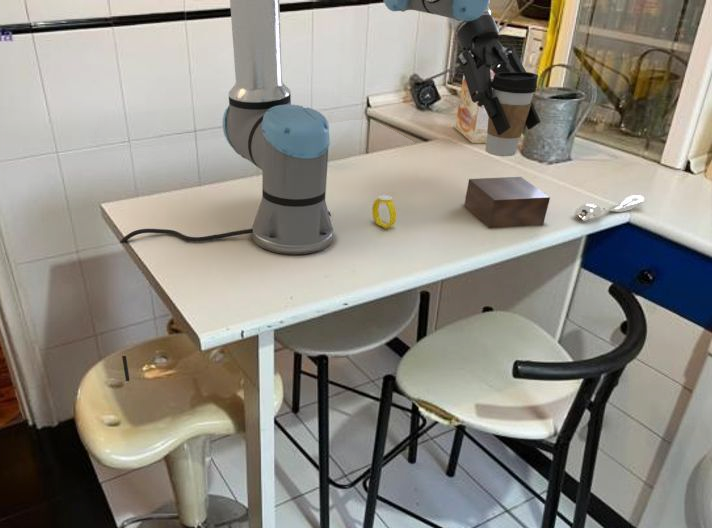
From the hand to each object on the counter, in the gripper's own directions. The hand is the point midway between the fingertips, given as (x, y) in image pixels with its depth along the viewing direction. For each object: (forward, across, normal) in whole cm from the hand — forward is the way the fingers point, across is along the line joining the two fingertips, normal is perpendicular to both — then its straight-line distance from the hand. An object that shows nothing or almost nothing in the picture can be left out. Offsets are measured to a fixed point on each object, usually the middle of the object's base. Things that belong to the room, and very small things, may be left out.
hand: (519, 128), depth 126 cm
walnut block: (+12, -2, -14) cm, 19 cm away
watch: (+7, +24, -19) cm, 32 cm away
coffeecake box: (-19, -39, -46) cm, 63 cm away
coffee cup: (+2, 0, -6) cm, 7 cm away
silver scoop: (+20, -24, -7) cm, 32 cm away
